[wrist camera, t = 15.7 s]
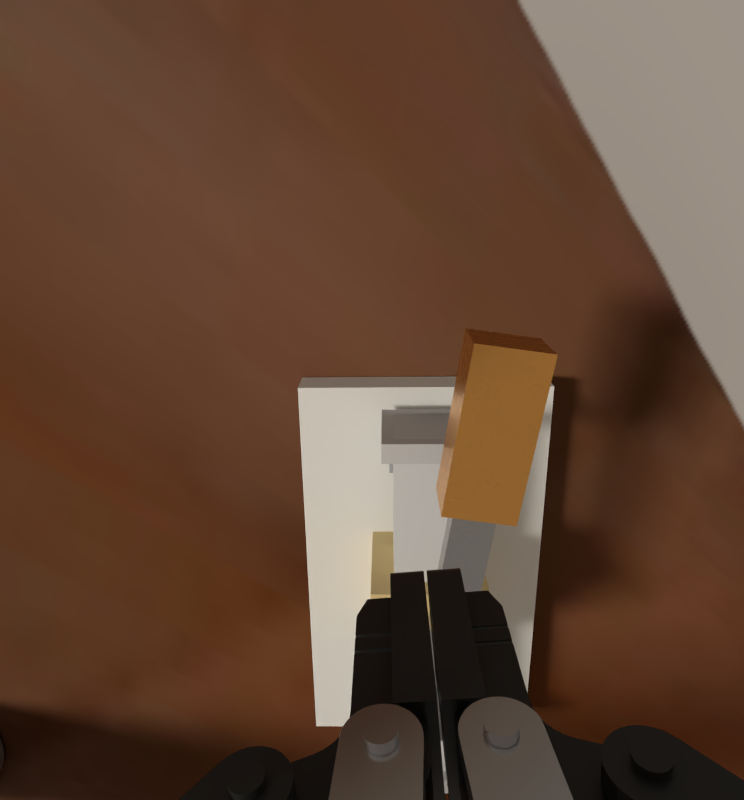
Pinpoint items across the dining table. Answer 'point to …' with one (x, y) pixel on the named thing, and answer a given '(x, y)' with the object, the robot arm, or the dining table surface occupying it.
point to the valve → (393, 515)
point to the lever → (489, 445)
